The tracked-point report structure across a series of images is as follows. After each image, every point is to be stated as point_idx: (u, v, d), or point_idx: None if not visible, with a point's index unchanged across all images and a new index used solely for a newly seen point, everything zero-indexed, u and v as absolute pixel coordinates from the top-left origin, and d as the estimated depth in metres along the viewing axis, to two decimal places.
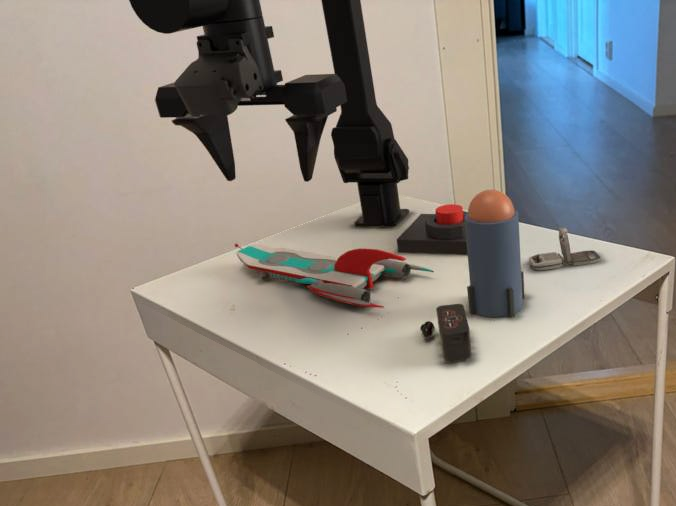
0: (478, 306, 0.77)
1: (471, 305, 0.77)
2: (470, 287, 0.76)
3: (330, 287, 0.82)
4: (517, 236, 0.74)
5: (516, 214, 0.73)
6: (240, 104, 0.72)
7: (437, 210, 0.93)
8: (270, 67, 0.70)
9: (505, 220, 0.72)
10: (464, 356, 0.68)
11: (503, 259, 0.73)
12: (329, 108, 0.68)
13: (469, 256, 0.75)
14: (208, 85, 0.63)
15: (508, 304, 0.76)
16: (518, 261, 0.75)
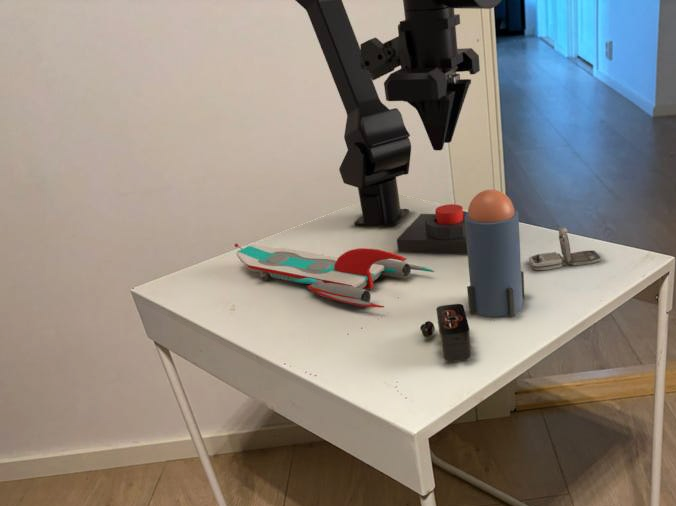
0: (478, 306, 0.77)
1: (471, 305, 0.77)
2: (470, 287, 0.76)
3: (330, 287, 0.82)
4: (517, 236, 0.74)
5: (516, 214, 0.73)
6: None
7: (437, 210, 0.93)
8: (426, 53, 0.81)
9: (505, 220, 0.72)
10: (464, 356, 0.68)
11: (503, 259, 0.73)
12: (396, 99, 0.78)
13: (469, 256, 0.75)
14: None
15: (508, 304, 0.76)
16: (518, 261, 0.75)
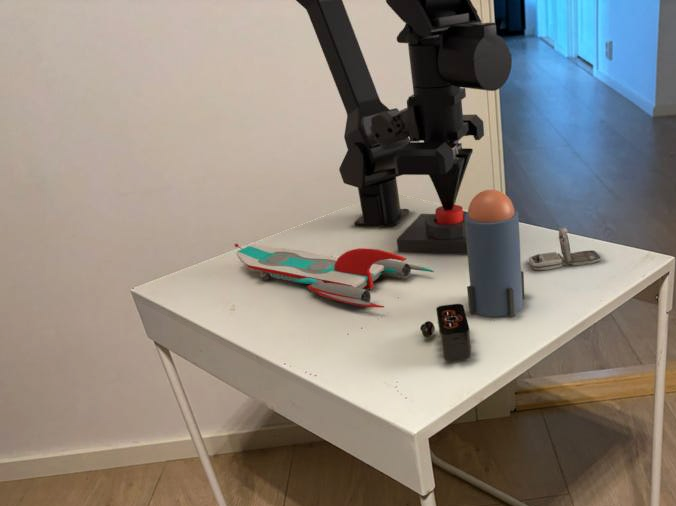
0: (478, 306, 0.77)
1: (471, 305, 0.77)
2: (470, 287, 0.76)
3: (330, 287, 0.82)
4: (517, 236, 0.74)
5: (516, 214, 0.73)
6: None
7: (437, 210, 0.93)
8: (434, 127, 0.85)
9: (505, 220, 0.72)
10: (464, 356, 0.68)
11: (503, 259, 0.73)
12: (406, 172, 0.82)
13: (469, 256, 0.75)
14: None
15: (508, 304, 0.76)
16: (518, 261, 0.75)
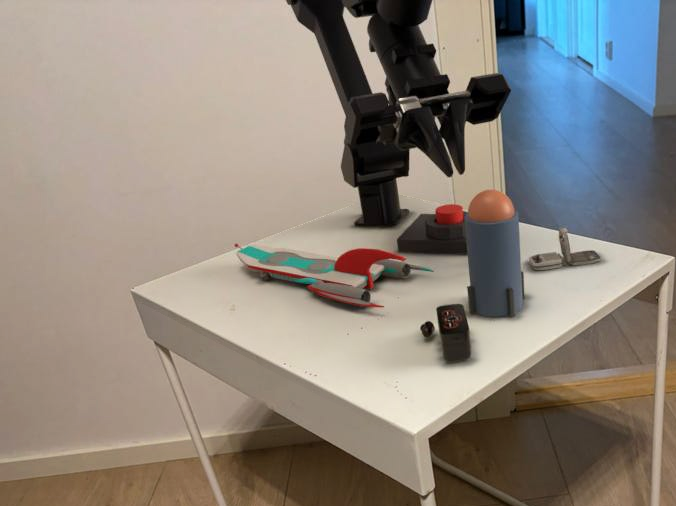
0: (478, 306, 0.77)
1: (471, 305, 0.77)
2: (470, 287, 0.76)
3: (330, 287, 0.82)
4: (517, 236, 0.74)
5: (516, 214, 0.73)
6: (437, 114, 0.80)
7: (437, 210, 0.93)
8: (396, 91, 0.79)
9: (505, 220, 0.72)
10: (464, 356, 0.68)
11: (503, 259, 0.73)
12: (350, 139, 0.77)
13: (469, 256, 0.75)
14: None
15: (508, 304, 0.76)
16: (518, 261, 0.75)
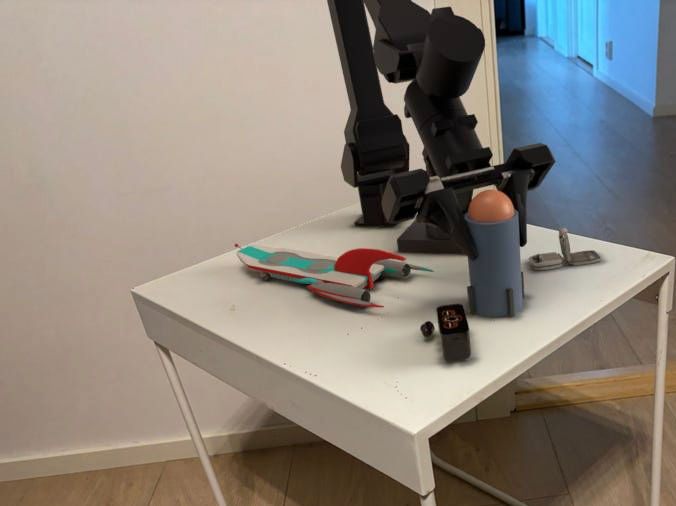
0: (477, 307, 0.77)
1: (471, 305, 0.77)
2: (470, 287, 0.76)
3: (330, 287, 0.82)
4: (517, 236, 0.74)
5: (516, 214, 0.73)
6: (478, 187, 0.77)
7: None
8: (435, 164, 0.75)
9: (505, 220, 0.72)
10: (464, 356, 0.68)
11: (503, 259, 0.73)
12: (388, 216, 0.74)
13: None
14: None
15: (508, 304, 0.76)
16: (518, 261, 0.75)
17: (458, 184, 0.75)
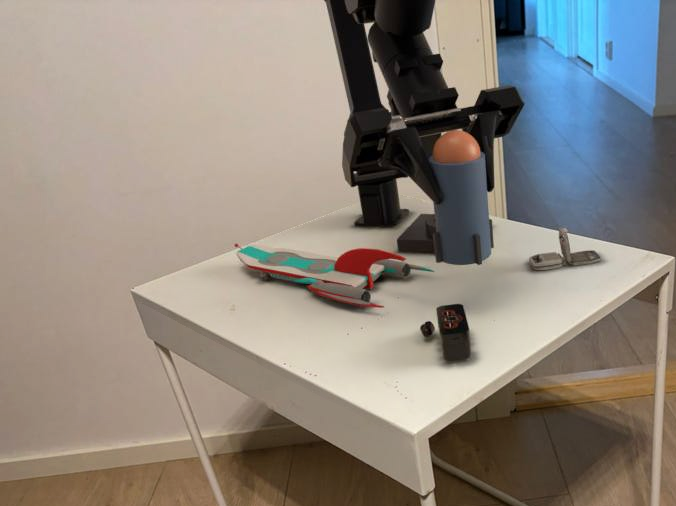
0: (444, 254, 0.74)
1: (437, 253, 0.74)
2: (436, 234, 0.73)
3: (330, 287, 0.82)
4: (484, 179, 0.71)
5: (482, 156, 0.70)
6: (444, 130, 0.74)
7: None
8: (399, 106, 0.72)
9: (470, 161, 0.69)
10: (464, 356, 0.68)
11: (469, 203, 0.71)
12: (350, 158, 0.71)
13: None
14: None
15: (475, 251, 0.73)
16: (485, 206, 0.72)
17: (423, 126, 0.72)
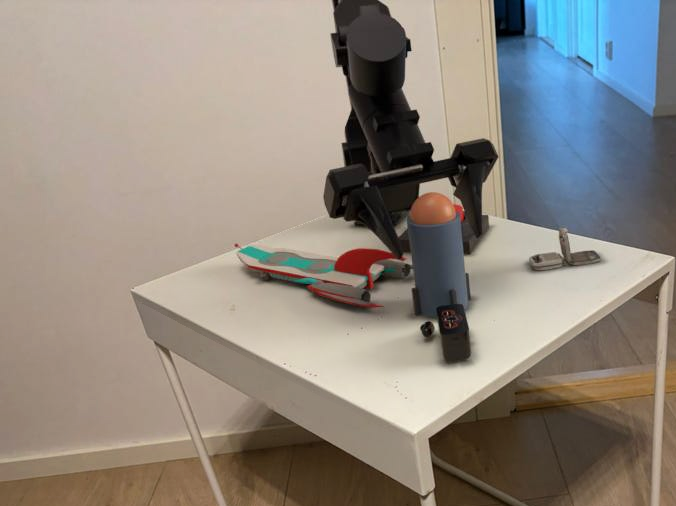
0: (422, 308, 0.78)
1: (416, 307, 0.78)
2: (414, 289, 0.77)
3: (330, 287, 0.82)
4: (459, 238, 0.74)
5: (457, 216, 0.74)
6: (421, 182, 0.77)
7: None
8: (378, 159, 0.76)
9: (445, 223, 0.72)
10: (464, 356, 0.68)
11: (445, 261, 0.74)
12: (330, 211, 0.74)
13: (412, 258, 0.75)
14: None
15: None
16: (461, 263, 0.76)
17: (400, 179, 0.75)
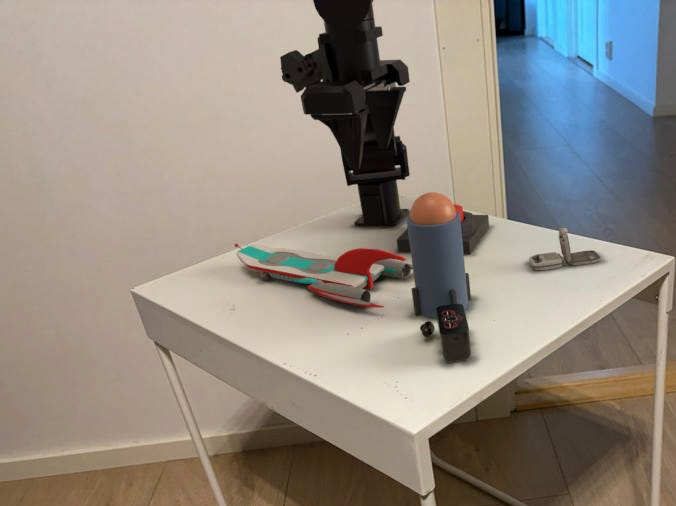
0: (422, 308, 0.78)
1: (416, 307, 0.78)
2: (414, 289, 0.77)
3: (330, 287, 0.82)
4: (459, 238, 0.74)
5: (457, 216, 0.74)
6: None
7: None
8: (347, 66, 0.81)
9: (445, 223, 0.72)
10: (464, 356, 0.68)
11: (445, 261, 0.74)
12: (313, 112, 0.78)
13: (412, 258, 0.75)
14: None
15: None
16: (461, 263, 0.76)
17: None
